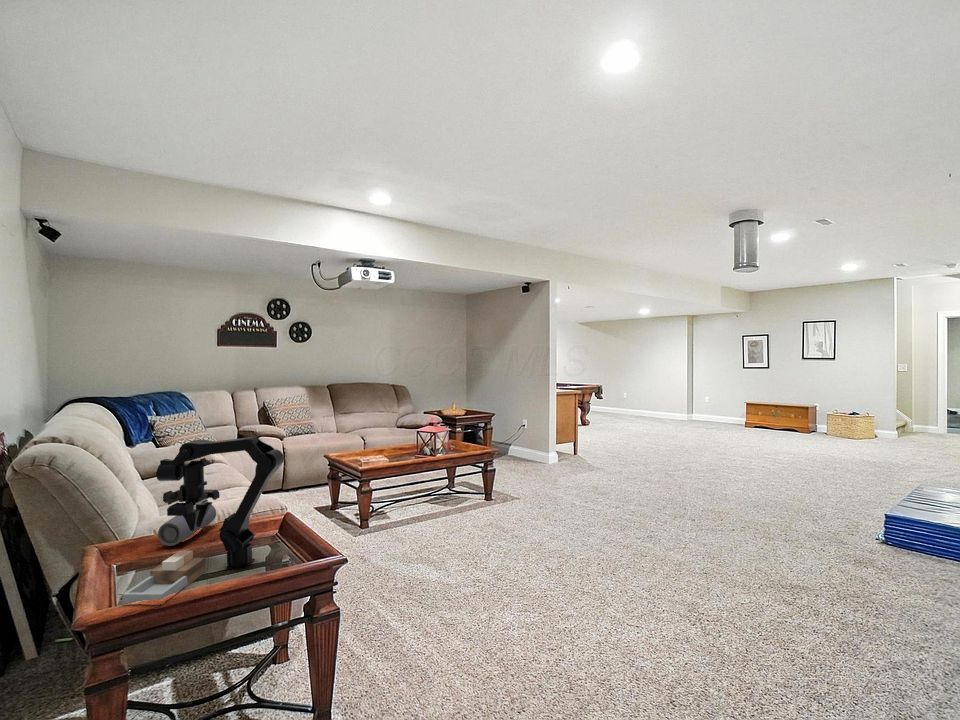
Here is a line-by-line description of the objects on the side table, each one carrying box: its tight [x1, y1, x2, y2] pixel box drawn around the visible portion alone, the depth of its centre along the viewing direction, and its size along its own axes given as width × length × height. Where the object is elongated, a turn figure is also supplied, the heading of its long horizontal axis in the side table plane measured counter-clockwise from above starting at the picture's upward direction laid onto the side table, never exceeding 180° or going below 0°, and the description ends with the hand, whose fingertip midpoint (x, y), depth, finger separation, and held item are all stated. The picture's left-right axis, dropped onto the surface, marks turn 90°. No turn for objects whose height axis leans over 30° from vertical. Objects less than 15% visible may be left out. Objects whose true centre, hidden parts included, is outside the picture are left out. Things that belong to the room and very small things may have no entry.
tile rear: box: [171, 550, 194, 564], centre depth 153 cm, size 4×4×2 cm
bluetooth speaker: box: [157, 503, 217, 547], centre depth 185 cm, size 23×9×10 cm, turn 179°
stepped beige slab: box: [149, 557, 206, 587], centre depth 151 cm, size 11×9×4 cm
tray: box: [121, 575, 188, 605], centre depth 141 cm, size 11×11×3 cm
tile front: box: [161, 555, 184, 571], centre depth 149 cm, size 4×4×2 cm
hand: (195, 528), depth 160 cm, fingers open, 3 cm apart
